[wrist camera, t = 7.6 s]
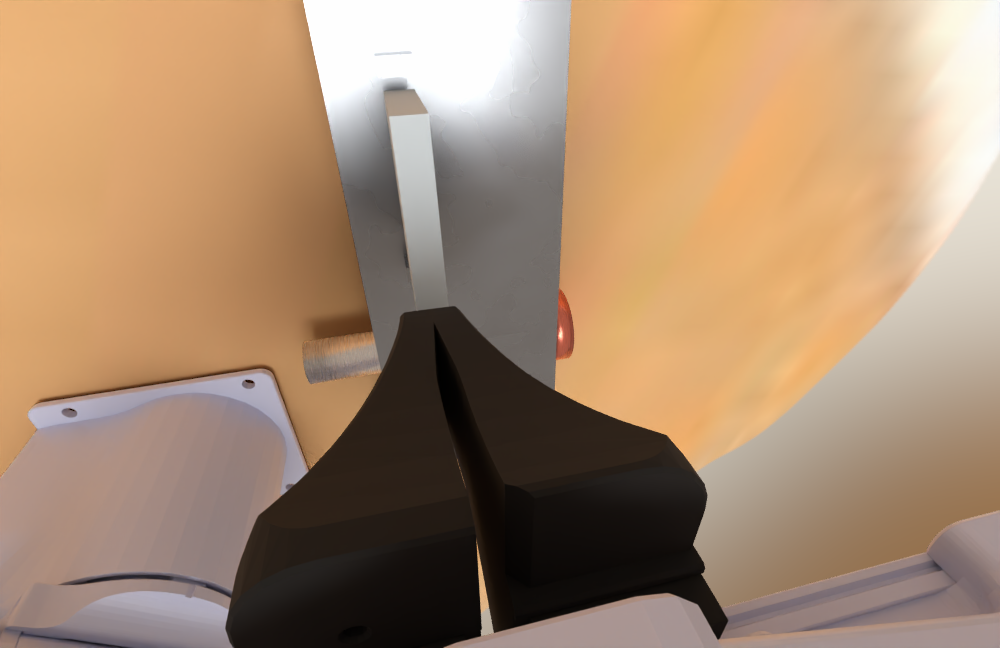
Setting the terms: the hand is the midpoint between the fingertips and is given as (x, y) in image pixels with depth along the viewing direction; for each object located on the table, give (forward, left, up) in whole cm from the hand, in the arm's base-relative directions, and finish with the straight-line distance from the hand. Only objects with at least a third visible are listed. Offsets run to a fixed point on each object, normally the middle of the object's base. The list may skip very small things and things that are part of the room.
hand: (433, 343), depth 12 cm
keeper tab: (0, +3, -5) cm, 6 cm away
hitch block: (+2, -1, -9) cm, 10 cm away
